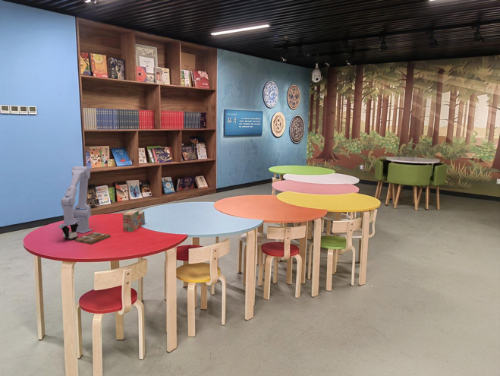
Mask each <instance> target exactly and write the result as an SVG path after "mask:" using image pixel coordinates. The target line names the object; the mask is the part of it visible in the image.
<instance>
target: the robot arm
mask: <svg viewBox="0 0 500 376" xmlns="http://www.w3.org/2000/svg"><path fill="white" fill-rule="evenodd" d="M90 169H91V168H90V167H89V166H85V165H84V166H83V165H82V166H80V165H78V166H77V165H74V166H72V167H71V174H72V177H71V181H70V186H67V188H66V191H65V193H64V196H63V197H62V198H61V199H60V205H61V207H62V209H63V223H61V224H58V229H60V230H61V231H62V233H63V232H64V234H65V237H66V238H67V239H69V231H70V232H76V233H80V234H85V233H88V232H91V231H93V229H92V228H90V224H89V223H90V221H89V218H90V217H91V216H92V211H91V208H92V207H91V206H90V205H88V203H87V202H88V201H87V200H88V184H89V180H90V178H91V170H90ZM78 184H79V188H77V187H78ZM78 189H79V190H78ZM77 191H78V204H76V205H75V203H76V195H77ZM69 226H70V227H69ZM70 229H71V230H70Z"/></svg>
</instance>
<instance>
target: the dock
mask: <svg viewBox="0 0 500 376" xmlns="http://www.w3.org/2000/svg"><path fill="white" fill-rule="evenodd" d="M109 238H111V234H108V233H102V232H90V233H89V234H86V235H83V236H80V237H77V238H76V239H73V240H74V242H78V243H83V244H89V245H94V244H96V243H99V242H101V241H104V240H107V239H109Z"/></svg>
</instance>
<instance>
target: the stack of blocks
mask: <svg viewBox="0 0 500 376" xmlns="http://www.w3.org/2000/svg"><path fill="white" fill-rule="evenodd" d="M145 216H146V215H145V211H142V210H137V209H130V210H128V211H126V212H125V213H123V214H122V226H123V228H122V229H123V232H128V233H132V232H134V231H136V230H137V229H138V228H140V227H142V226H143V225H145V224H146V220H145V219H146V217H145ZM144 223H145V224H144ZM141 225H142V226H141ZM135 229H136V230H135Z"/></svg>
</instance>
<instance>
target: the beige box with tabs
mask: <svg viewBox="0 0 500 376" xmlns="http://www.w3.org/2000/svg"><path fill="white" fill-rule="evenodd" d="M62 236H63V239H64V240H69V241H72V240H75V239H77V238H78V232H71V230H69V238H66V237H65V234H64V232H63V231H62Z"/></svg>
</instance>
